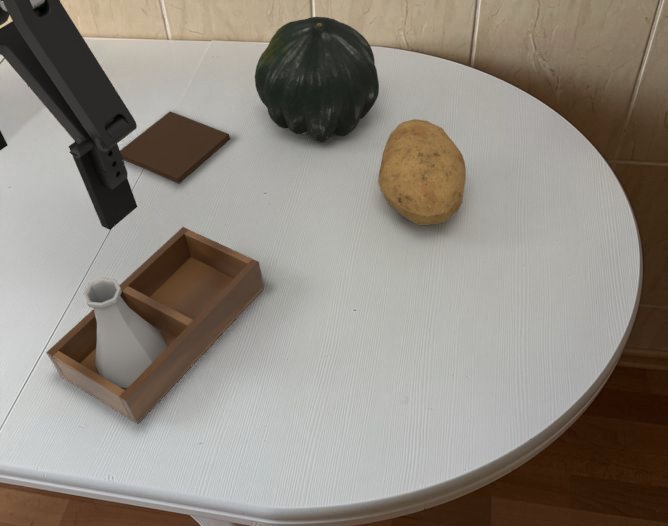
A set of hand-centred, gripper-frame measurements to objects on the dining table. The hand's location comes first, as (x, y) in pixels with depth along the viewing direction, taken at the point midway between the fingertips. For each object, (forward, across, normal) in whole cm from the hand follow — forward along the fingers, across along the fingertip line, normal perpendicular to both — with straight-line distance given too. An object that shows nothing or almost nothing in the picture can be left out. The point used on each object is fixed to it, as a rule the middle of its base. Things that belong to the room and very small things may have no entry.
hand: (52, 183), depth 51 cm
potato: (+22, -12, -34) cm, 42 cm away
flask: (+22, 0, 0) cm, 22 cm away
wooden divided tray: (+22, 0, -5) cm, 23 cm away
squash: (+22, +7, -42) cm, 48 cm away
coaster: (+22, +20, -28) cm, 40 cm away
